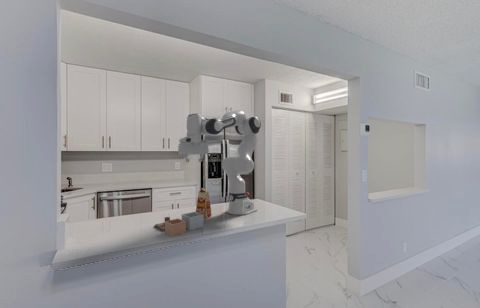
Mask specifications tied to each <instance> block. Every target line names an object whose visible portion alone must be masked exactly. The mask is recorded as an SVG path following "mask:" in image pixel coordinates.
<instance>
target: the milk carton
mask: <svg viewBox="0 0 480 308" xmlns="http://www.w3.org/2000/svg"><path fill="white" fill-rule="evenodd" d="M197 195H198V196H197V198H196V199H197V200H196V207H195V208H196V209H195V212H197V213H200V214H203V221H209V220H210V219H211V218H212V216H213V215H212V214H213V213H212V207H211V199H210V193H209V192H208V190H206V188H204V187H201V189H200V190H199V191H198V194H197Z"/></svg>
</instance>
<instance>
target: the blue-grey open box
mask: <svg viewBox="0 0 480 308" xmlns="http://www.w3.org/2000/svg"><path fill="white" fill-rule="evenodd" d="M181 220H183V221H185V222H186V230H188V231H193V230H196V229H201V228H204V220H203V214H200V213H197V212H196V211H192V212H189V213H188V212H187V213H186V212H185V213H182V214H181ZM200 227H201V228H200Z"/></svg>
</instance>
